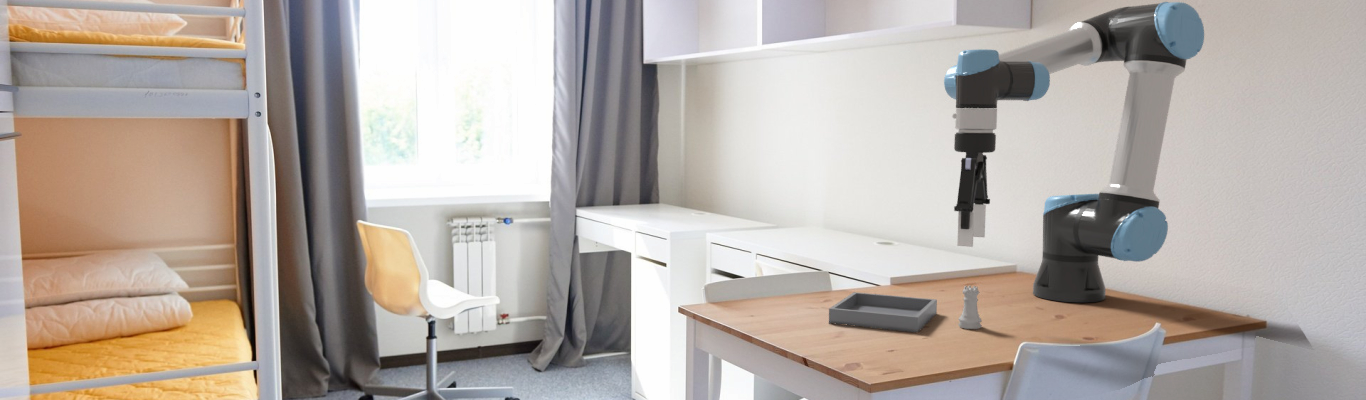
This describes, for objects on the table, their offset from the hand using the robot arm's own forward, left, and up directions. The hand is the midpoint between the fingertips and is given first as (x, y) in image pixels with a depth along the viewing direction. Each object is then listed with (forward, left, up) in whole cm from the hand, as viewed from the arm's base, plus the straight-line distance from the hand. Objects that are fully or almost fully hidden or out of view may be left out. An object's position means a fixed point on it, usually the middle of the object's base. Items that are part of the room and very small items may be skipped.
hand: (971, 241), depth 182 cm
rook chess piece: (0, 0, -17) cm, 17 cm away
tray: (+17, 0, -17) cm, 24 cm away
